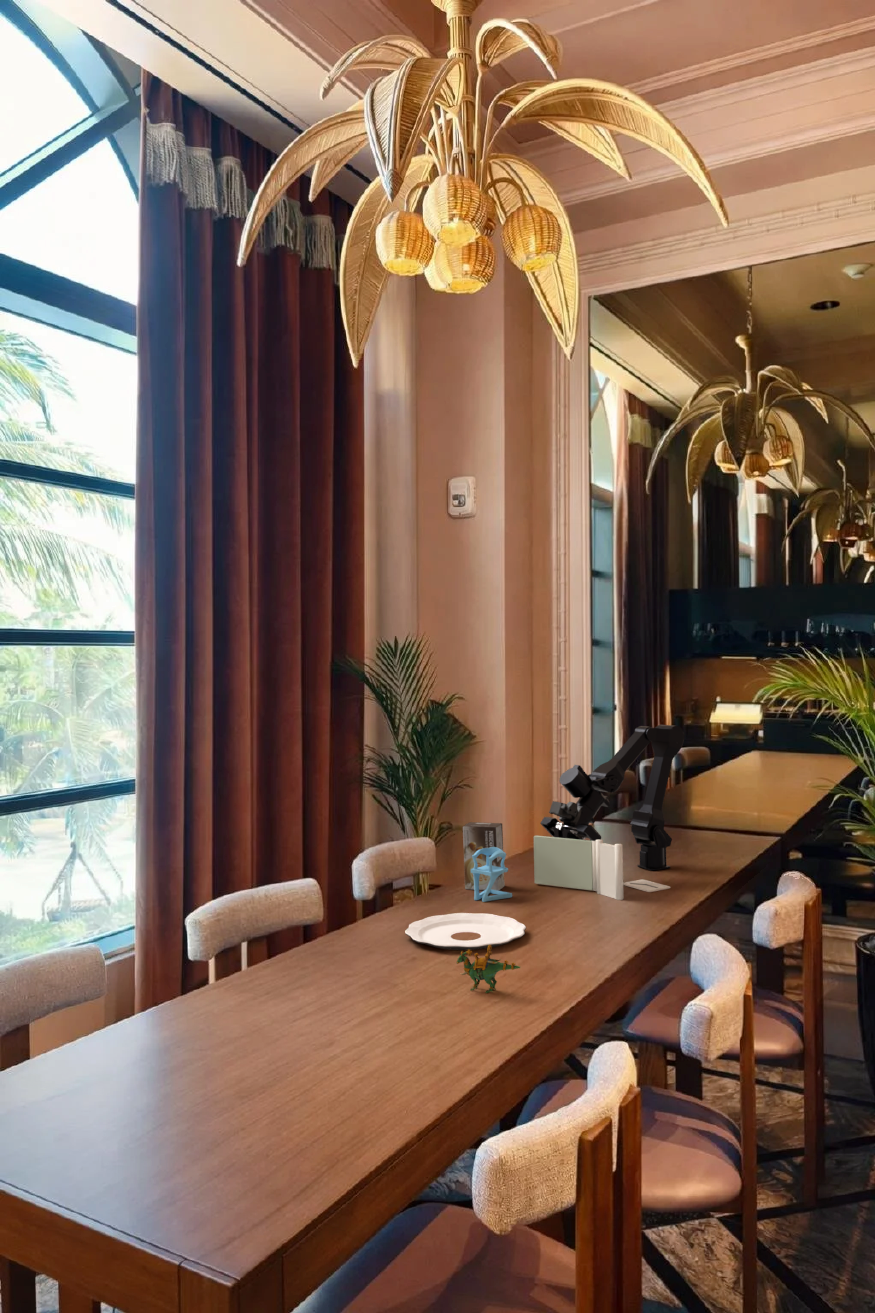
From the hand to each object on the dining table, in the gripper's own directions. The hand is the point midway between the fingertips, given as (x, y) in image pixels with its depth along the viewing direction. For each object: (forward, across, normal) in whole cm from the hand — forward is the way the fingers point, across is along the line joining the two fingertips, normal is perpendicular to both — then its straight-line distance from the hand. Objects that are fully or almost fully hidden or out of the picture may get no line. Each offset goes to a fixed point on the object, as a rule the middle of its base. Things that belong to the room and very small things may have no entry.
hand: (552, 857), depth 251 cm
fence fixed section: (+2, +17, +8) cm, 19 cm away
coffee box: (+16, -9, -6) cm, 19 cm away
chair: (+19, +1, -9) cm, 21 cm away
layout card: (-7, +14, +18) cm, 24 cm away
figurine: (+46, +56, -36) cm, 80 cm away
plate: (+35, +25, -25) cm, 50 cm away
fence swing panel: (+4, +4, +5) cm, 8 cm away
